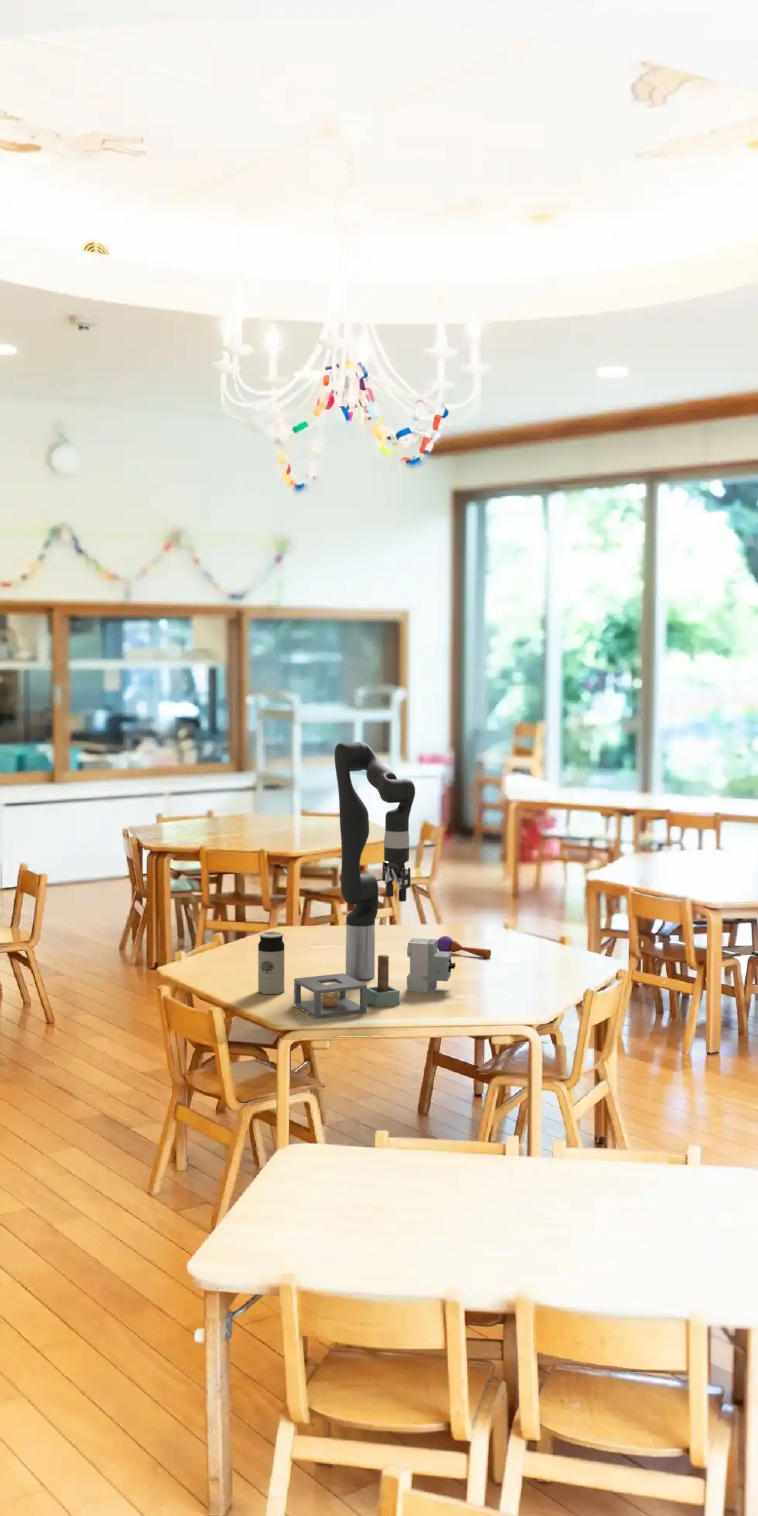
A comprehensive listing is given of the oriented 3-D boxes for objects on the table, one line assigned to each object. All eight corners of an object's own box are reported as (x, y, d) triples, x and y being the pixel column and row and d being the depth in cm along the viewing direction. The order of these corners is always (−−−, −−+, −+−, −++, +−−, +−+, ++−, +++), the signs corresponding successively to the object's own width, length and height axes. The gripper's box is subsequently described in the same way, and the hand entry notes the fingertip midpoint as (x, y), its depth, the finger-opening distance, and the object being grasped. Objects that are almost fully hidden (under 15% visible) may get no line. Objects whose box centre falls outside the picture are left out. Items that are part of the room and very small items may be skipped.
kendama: (484, 949, 461) (433, 938, 471) (484, 965, 463) (433, 954, 473) (492, 943, 466) (441, 932, 476) (492, 959, 468) (442, 947, 478)
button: (320, 1003, 397) (320, 993, 397) (333, 1002, 399) (333, 992, 399) (326, 1007, 394) (326, 997, 393) (340, 1005, 396) (340, 995, 395)
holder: (365, 1001, 406) (365, 987, 406) (388, 998, 409) (388, 985, 409) (376, 1006, 399) (376, 993, 399) (399, 1004, 402) (399, 990, 402)
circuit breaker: (452, 993, 415) (453, 945, 414) (406, 991, 418) (407, 943, 417) (456, 987, 423) (456, 940, 422) (411, 985, 426) (411, 938, 425)
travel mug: (268, 987, 422) (268, 930, 420) (289, 990, 418) (289, 932, 416) (253, 992, 415) (253, 934, 414) (274, 996, 411) (274, 937, 410)
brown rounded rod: (375, 1001, 405) (376, 955, 404) (385, 1000, 406) (385, 954, 405) (380, 1004, 402) (380, 957, 401) (390, 1003, 403) (390, 956, 402)
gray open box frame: (294, 1005, 400) (294, 978, 400) (343, 999, 407) (343, 973, 407) (316, 1018, 386) (316, 990, 385) (366, 1012, 393) (367, 985, 392)
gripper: (418, 848, 403) (417, 902, 405) (397, 841, 416) (396, 894, 417) (396, 849, 400) (395, 904, 401) (375, 842, 413) (374, 895, 414)
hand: (395, 898), depth 409 cm, fingers open, 8 cm apart
